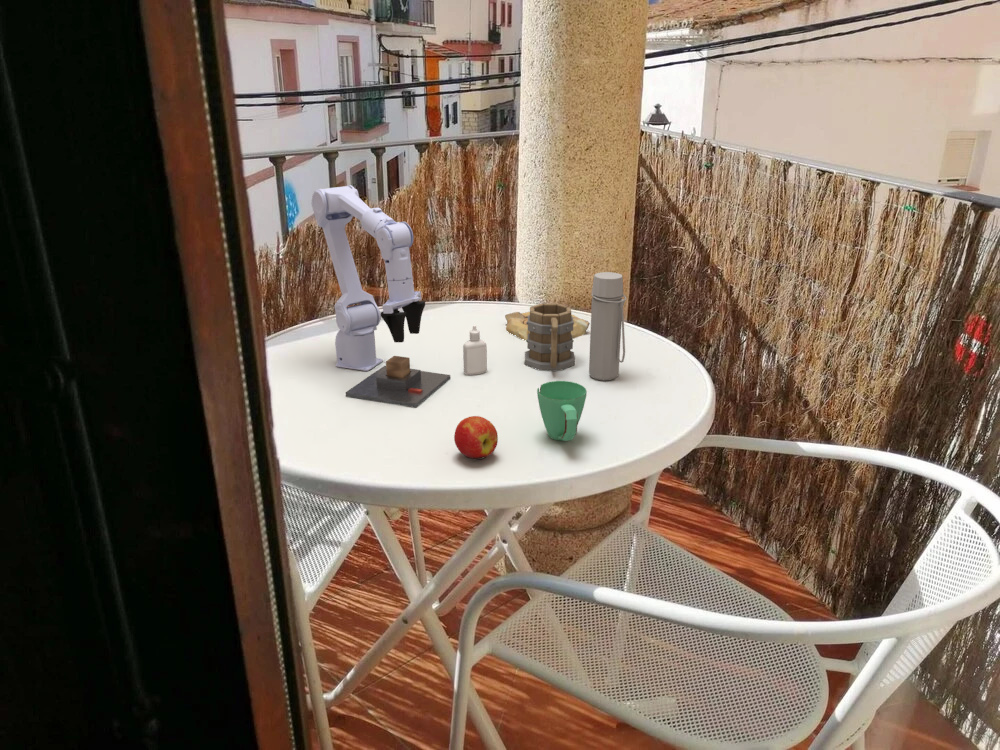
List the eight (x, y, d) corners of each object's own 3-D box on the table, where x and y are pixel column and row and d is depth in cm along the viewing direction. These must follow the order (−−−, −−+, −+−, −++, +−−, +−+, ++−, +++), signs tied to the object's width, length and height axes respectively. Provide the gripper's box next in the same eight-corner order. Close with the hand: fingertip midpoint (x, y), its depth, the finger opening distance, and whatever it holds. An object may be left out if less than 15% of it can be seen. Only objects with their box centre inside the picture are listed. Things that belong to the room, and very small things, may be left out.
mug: (532, 426, 159) (532, 382, 155) (578, 423, 160) (579, 379, 156) (546, 459, 145) (547, 412, 141) (596, 455, 147) (598, 408, 143)
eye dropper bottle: (485, 376, 185) (484, 329, 181) (462, 375, 186) (461, 328, 181) (487, 369, 189) (487, 323, 185) (465, 368, 190) (464, 322, 185)
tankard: (524, 352, 200) (525, 297, 194) (572, 353, 200) (574, 297, 194) (524, 381, 181) (524, 321, 176) (577, 382, 181) (579, 322, 175)
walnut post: (387, 384, 177) (385, 361, 175) (395, 378, 181) (394, 355, 179) (402, 386, 176) (401, 363, 174) (410, 380, 179) (409, 357, 177)
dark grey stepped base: (345, 396, 174) (344, 382, 173) (384, 369, 190) (383, 356, 188) (416, 407, 168) (415, 393, 167) (450, 378, 183) (449, 365, 182)
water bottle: (581, 377, 184) (585, 276, 175) (600, 368, 189) (605, 269, 180) (613, 386, 178) (618, 282, 169) (631, 377, 183) (638, 276, 174)
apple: (470, 470, 142) (469, 431, 139) (446, 453, 148) (445, 416, 145) (505, 458, 146) (504, 420, 143) (480, 442, 152) (479, 405, 149)
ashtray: (592, 344, 207) (592, 326, 205) (504, 344, 207) (504, 326, 206) (584, 317, 229) (584, 301, 227) (505, 317, 229) (505, 301, 228)
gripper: (400, 284, 162) (407, 346, 166) (430, 272, 174) (436, 329, 178) (371, 285, 164) (379, 345, 168) (403, 272, 177) (409, 329, 181)
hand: (407, 337), depth 173 cm, fingers open, 7 cm apart
